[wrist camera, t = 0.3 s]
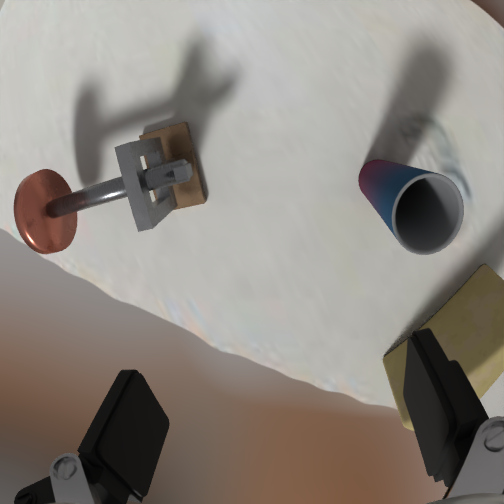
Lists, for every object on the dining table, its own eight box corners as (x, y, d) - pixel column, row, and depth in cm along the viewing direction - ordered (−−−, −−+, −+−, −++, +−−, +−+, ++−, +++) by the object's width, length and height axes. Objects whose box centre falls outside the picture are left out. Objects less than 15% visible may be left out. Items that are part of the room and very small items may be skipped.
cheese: (468, 248, 39) (527, 300, 25) (500, 278, 40) (551, 330, 26) (377, 358, 47) (400, 431, 33) (415, 376, 48) (441, 442, 34)
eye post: (142, 135, 36) (91, 144, 25) (187, 121, 36) (149, 123, 25) (162, 210, 40) (121, 245, 29) (206, 201, 39) (178, 234, 28)
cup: (355, 147, 35) (401, 164, 21) (407, 158, 35) (471, 182, 21) (346, 202, 38) (383, 249, 24) (397, 210, 38) (451, 259, 24)
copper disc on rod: (48, 169, 36) (-2, 187, 27) (193, 118, 33) (162, 118, 23) (69, 238, 39) (26, 269, 30) (214, 204, 36) (192, 235, 27)
